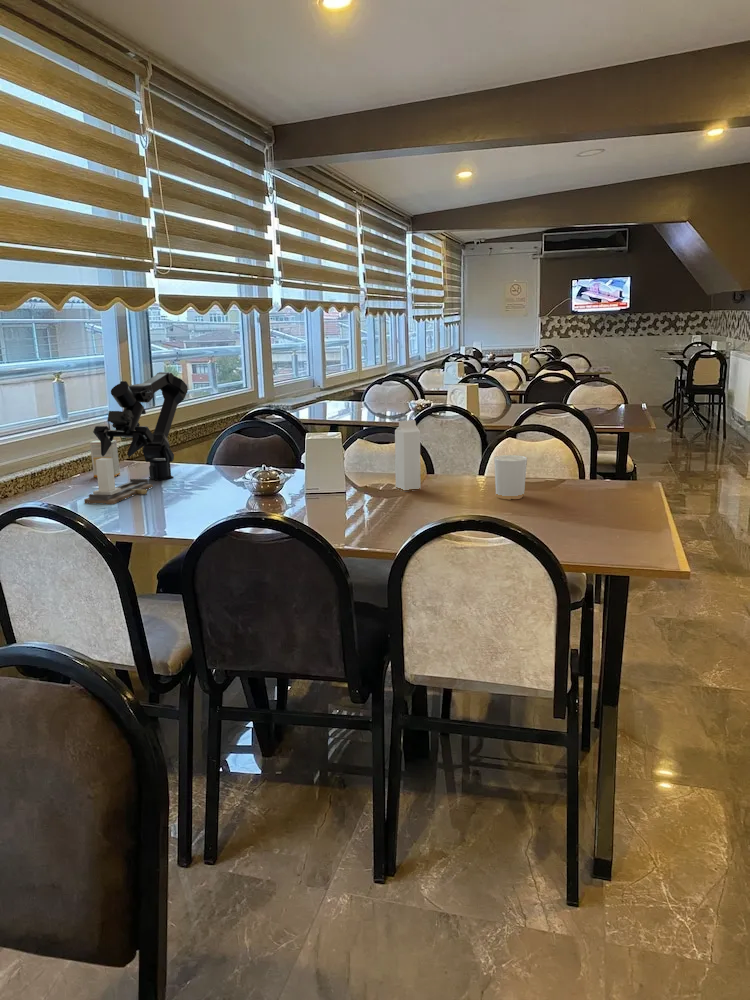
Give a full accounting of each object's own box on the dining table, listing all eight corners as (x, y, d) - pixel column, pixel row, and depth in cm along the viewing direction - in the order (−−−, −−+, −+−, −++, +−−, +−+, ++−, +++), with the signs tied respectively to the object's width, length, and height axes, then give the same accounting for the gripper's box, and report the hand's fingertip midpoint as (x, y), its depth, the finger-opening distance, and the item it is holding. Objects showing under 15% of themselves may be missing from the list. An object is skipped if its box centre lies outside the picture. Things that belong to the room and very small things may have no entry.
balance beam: (118, 486, 258) (118, 478, 258) (161, 487, 255) (161, 479, 254) (75, 503, 235) (74, 494, 234) (122, 504, 231) (121, 495, 230)
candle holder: (494, 493, 236) (494, 454, 234) (526, 493, 234) (527, 455, 232) (492, 500, 227) (493, 460, 224) (526, 501, 225) (527, 461, 222)
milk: (395, 488, 246) (394, 420, 241) (411, 486, 249) (410, 418, 244) (404, 491, 241) (403, 422, 236) (421, 489, 243) (420, 420, 238)
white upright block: (104, 493, 241) (100, 457, 239) (121, 494, 240) (117, 457, 237) (93, 497, 236) (89, 460, 233) (111, 498, 234) (107, 460, 232)
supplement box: (120, 475, 278) (117, 439, 275) (115, 477, 274) (111, 441, 271) (99, 475, 279) (95, 439, 276) (93, 477, 275) (89, 441, 272)
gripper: (93, 400, 245) (76, 440, 237) (146, 401, 240) (130, 440, 232) (109, 422, 254) (93, 460, 246) (160, 422, 250) (146, 461, 242)
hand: (115, 455), depth 241 cm, fingers open, 9 cm apart
